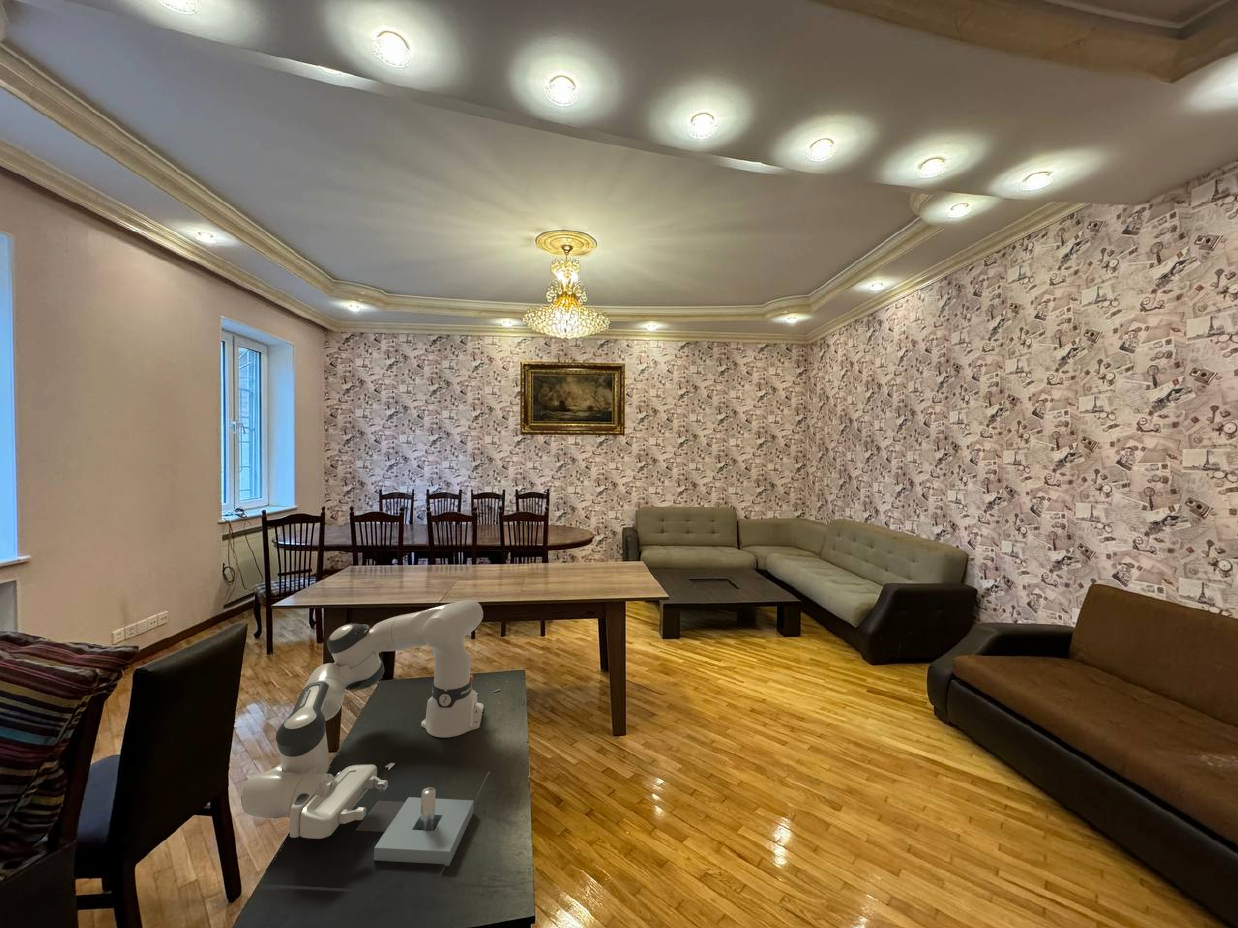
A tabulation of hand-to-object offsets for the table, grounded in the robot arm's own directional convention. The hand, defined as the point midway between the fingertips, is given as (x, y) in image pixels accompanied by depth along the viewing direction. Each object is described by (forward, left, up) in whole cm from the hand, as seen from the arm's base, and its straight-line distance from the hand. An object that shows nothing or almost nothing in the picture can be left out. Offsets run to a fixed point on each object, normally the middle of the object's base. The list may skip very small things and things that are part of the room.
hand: (376, 799), depth 111 cm
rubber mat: (-5, -1, -8) cm, 9 cm away
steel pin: (0, +12, -8) cm, 14 cm away
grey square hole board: (0, +12, -8) cm, 14 cm away
